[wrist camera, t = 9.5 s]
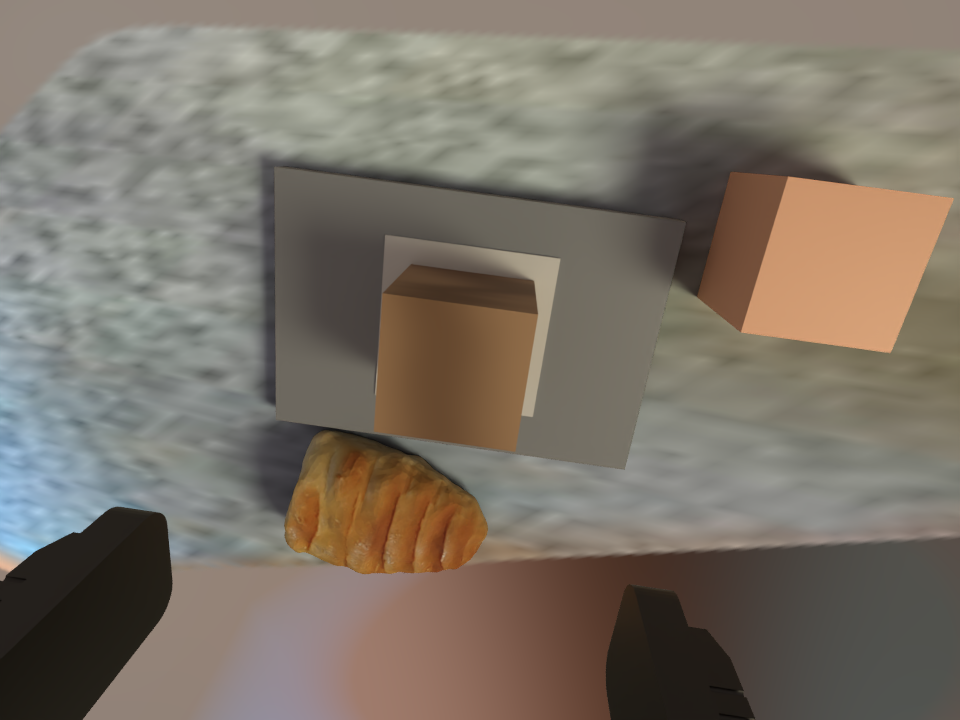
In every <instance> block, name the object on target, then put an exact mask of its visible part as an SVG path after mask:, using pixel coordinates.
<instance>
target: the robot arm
mask: <svg viewBox="0 0 960 720" xmlns="http://www.w3.org/2000/svg"><path fill="white" fill-rule="evenodd" d="M171 592H172V571H171V560H170V550H169V539H168V528H167V521H166V518H165V516H164V515H163V514H161V513H158V512H151V511H144V510H138V509H131V508H124V507H113V508H111V509H109V510H108V511H106V512H105V513H104V514H102V515H101V516H100V517H99V518H98V519H97V520H95V521H94V522H93V523H92V524H91V525H90V526H88V527H87V528H86V529H85V530H84V531H83V532H81V533H74V532H73V533H71V534H69V535H67V536H65V537H63V538H61V539H59V540H57V541H55V542H53V543H51V544H49V545H47V546H45V547H43V548H41V549H39V550H37V551H35V552H34V553H33V554H32V555H31V556H29V557H28V558H27V559H26V560H24V561H23V562H22V563H21V564H19V565H18V566H17V567H16V568H15V569H13V570H12V571H11V572H10V573H8V574H7V575H6V578H5V580H4V581H0V720H83V718H84V717H85V716H86V714H87V713H88V712H89V711H90V709H91V708H92V707H93V705H94V704H95V703H96V702H97V700H98V699H99V698H100V697H101V695H102V694H103V693H104V691H105V690H106V689H107V687H108V686H109V685H110V684H111V682H112V681H113V680H114V679H115V677H116V676H117V675H118V673H119V672H120V671H121V669H122V668H123V667H124V666H125V664H126V663H127V662H128V661H129V659H130V658H131V657H132V655H133V654H134V653H135V652H136V650H137V649H138V648H139V647H140V645H141V644H142V643H143V641H144V640H145V638H147V636H148V635H149V633H150V632H151V631H152V630H153V629H154V627H155V626H156V624H157V623H158V622H159V621H160V619H161V617H162V616H163V614H164V612H165V610H166V608H167V606H168V603H169V600H170V596H171ZM606 690H607V697H608V704H609V710H610V717H611V720H755V717H754V715H753V712H752V710H751V708H750V705H749V703H748V700H747V698H746V697H744V695H743V692H744V690H743V688H742V686H741V683H740V681H739V678H738V676H737V673H736V671H735V669H734V666H733V664H732V662H731V659H730V657H729V656H728V655H727V654H726V653H725V652H724V650H723V649H722V648H721V647H720V646H719V644H718V643H717V642H716V641H715V639H714V638H713V637H712V636H711V634H710V633H709V632H708V631H707V630H706V629H700V628H693V627H688V624H687V622H686V619H685V616H684V613H683V610H682V607H681V605H680V602H679V599H678V597H677V595H676V593H675V592H674V591H670V590H663V589H656V588H650V587H644V586H637V585H628V586H627V587H626V589H625V591H624V594H623V598H622V601H621V605H620V609H619V612H618V616H617V620H616V624H615V627H614V631H613V635H612V639H611V642H610V646H609V650H608V655H607V662H606Z"/></svg>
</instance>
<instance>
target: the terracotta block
mask: <svg viewBox="0 0 960 720" xmlns="http://www.w3.org/2000/svg"><path fill="white" fill-rule="evenodd" d="M953 200H954V198H947V197H939V196H932V195H924V194H917V193H909V192H902V191H894V190H886V189H879V188H871V187H864V186H856V185H849V184H841V183H833V182H826V181H818V180H811V179H803V178H796V177H788V176H776V175H764V174H752V173H740V172H731V173H730V176H729V180H728V184H727V187H726V191H725V195H724V199H723V202H722V206H721V210H720V213H719V217H718V221H717V225H716V228H715V232H714V236H713V239H712V243H711V247H710V251H709V254H708V258H707V262H706V265H705V269H704V273H703V277H702V280H701V284H700V288H699V291H698V295H697V297H698V298H699V299H700V300H701V301H703V302H704V303H705V304H706V305H708V306H709V307H710V308H711V309H713V310H714V311H715V312H716V313H718V314H719V315H720V316H721V317H723V318H724V319H725V320H726V321H727V322H729V323H730V324H731V325H732V326H734V327H735V328H736V329H737V330H739V331H740V332H743V333H750V334H757V335H764V336H772V337H779V338H786V339H794V340H801V341H808V342H815V343H823V344H830V345H837V346H844V347H852V348H859V349H866V350H874V351H881V352H888V353H891V351H892V348H893V346H894V343H895V341H896V339H897V336H898V334H899V331H900V329H901V326H902V324H903V322H904V319H905V317H906V314H907V312H908V309H909V307H910V304H911V302H912V300H913V297H914V295H915V292H916V290H917V287H918V285H919V282H920V280H921V278H922V275H923V273H924V270H925V268H926V265H927V263H928V261H929V258H930V256H931V253H932V251H933V248H934V246H935V243H936V241H937V239H938V236H939V234H940V231H941V229H942V226H943V224H944V222H945V219H946V217H947V214H948V212H949V209H950V207H951V204H952V202H953Z"/></svg>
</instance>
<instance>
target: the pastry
mask: <svg viewBox="0 0 960 720" xmlns="http://www.w3.org/2000/svg"><path fill="white" fill-rule="evenodd" d="M284 526H285V539H286V542H287V544H288V545H289V546H290V547H291V548H292V549H293V550H294V551H296V552H298V553H300V552H306V553H309V554H311V555H313V556H315V557H317V558H319V559H321V560H323V561H326V562H328V563H330V564H333V565H336V566H345V567H349V568H350V569H352V570H354V571H355V572H358V573H362V574H371V573H388V574H392V573H396V572H404V573H422V572H439V571H442V570H446V569H457V568H459V567H460V566H462V565H463V564H465V563H466V562H467V561H469V560H470V559H471V558H472V557H473V555H474V554H475V553H476V552H477V550H478V548H479V547H480V545H481V543H482V541H483V540H484V539H485V537H486V535H487V531H488V525H487V522H486V520H485V518H484V516H483V513H482V511H481V509H480V506H479V504H478V502H477V500H476V498H475V497H474V496H472V495H471V494H469V493H468V492H467V491H465V490H463V489H461V488H460V487H459V486H458V485H455V484H453V483H452V482H451V481H450V480H448V479H447V478H446V477H445V476H444V475H442V474H440V473H439V472H437V471H436V470H434V469H433V468H432V467H431V466H430V465H429V464H428V463H427V462H426V461H425V460H424V459H423V458H421V457H419V456H417V455H407V454H405V453H403V452H401V451H399V450H396V449H393V448H390V447H388V446H385V445H383V444H380V443H378V442H377V441H374V440H370V439H367V438H364V437H360V436H356V435H354V434H349V433H342V432H339V431H330V430H323V431H321V432H319V433H317V434H316V435H315V436H314V437H313V439H312V441H311V443H310V445H309V447H308V449H307V451H306V454H305V457H304V460H303V464H302V470H301V473H300V476H299V480H298V482H297V484H296V486H295V489H294V491H293V496H292V500H291V501H290V504H289V508H288V512H287V515H286V518H285V523H284Z"/></svg>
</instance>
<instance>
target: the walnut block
mask: <svg viewBox="0 0 960 720" xmlns="http://www.w3.org/2000/svg"><path fill="white" fill-rule="evenodd" d="M537 319H538V309H537V300H536V292H535V283H534V281H532V280H524V279H517V278H510V277H502V276H495V275H488V274H480V273H473V272H466V271H458V270H451V269H444V268H436V267H429V266H422V265H414V264H411V265H410V266H409V267H408V268H407V269H406V270H405V271H404V272H403V273H402V274H401V275H400V276H399V277H398V278H397V279H396V280H395V281H394V282H393V283H392V284H391V285H390V286H389V287H388V288H387V289H386V290H385V291H384V292H383V293H382V308H381V324H380V340H379V356H378V372H377V388H376V404H375V420H374V432H379V433H386V434H393V435H400V436H407V437H414V438H421V439H429V440H436V441H443V442H450V443H457V444H464V445H471V446H478V447H485V448H492V449H499V450H506V451H513V452H515V451H516V445H517V439H518V433H519V427H520V421H521V415H522V409H523V403H524V397H525V391H526V385H527V379H528V373H529V367H530V361H531V355H532V349H533V343H534V337H535V331H536V325H537Z"/></svg>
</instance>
